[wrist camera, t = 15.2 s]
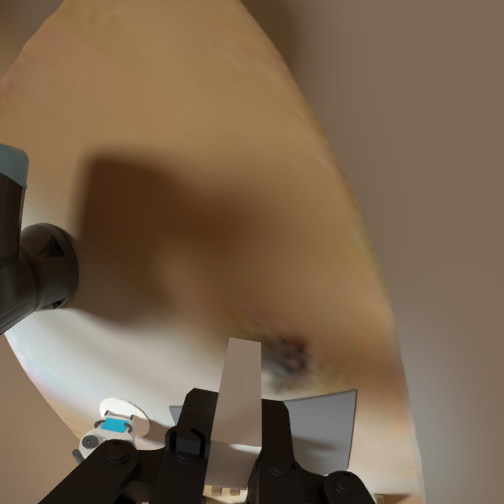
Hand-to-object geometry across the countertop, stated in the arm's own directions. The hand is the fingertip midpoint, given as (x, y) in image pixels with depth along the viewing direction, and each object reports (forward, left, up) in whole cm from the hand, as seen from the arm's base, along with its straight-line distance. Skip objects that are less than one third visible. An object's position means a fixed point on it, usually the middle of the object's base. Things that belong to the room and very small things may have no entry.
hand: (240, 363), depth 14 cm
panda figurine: (-19, -40, -30) cm, 53 cm away
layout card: (+11, -40, -29) cm, 51 cm away
